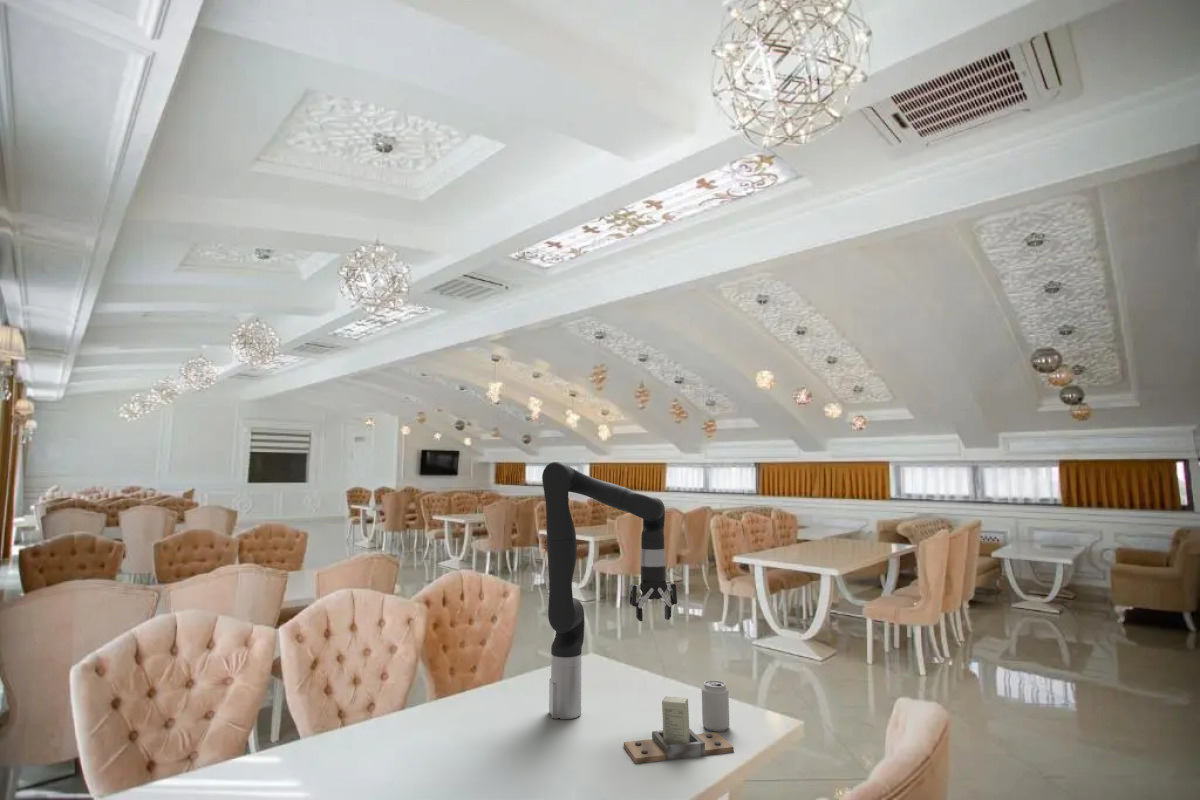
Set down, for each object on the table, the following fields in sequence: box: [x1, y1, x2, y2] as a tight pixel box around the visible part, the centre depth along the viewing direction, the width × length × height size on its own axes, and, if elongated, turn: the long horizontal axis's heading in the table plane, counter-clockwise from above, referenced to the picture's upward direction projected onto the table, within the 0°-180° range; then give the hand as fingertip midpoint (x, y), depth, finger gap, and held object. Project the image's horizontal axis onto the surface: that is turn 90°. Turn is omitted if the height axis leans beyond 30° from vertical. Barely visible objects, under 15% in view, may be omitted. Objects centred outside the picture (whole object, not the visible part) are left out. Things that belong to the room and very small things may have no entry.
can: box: [701, 679, 730, 733], centre depth 169 cm, size 8×8×12 cm
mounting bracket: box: [623, 728, 735, 764], centre depth 154 cm, size 26×10×3 cm, turn 105°
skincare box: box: [661, 696, 690, 745], centre depth 155 cm, size 6×4×12 cm
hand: (653, 620), depth 178 cm, fingers open, 8 cm apart
